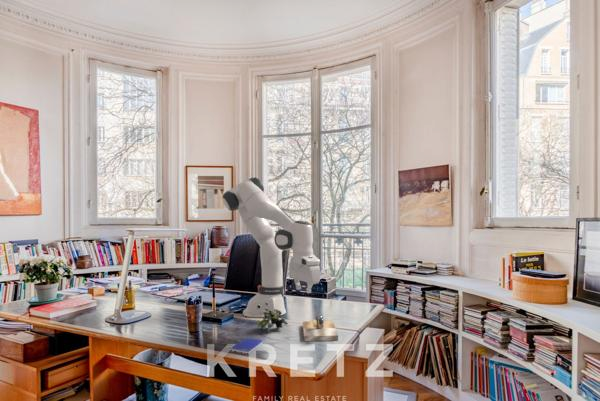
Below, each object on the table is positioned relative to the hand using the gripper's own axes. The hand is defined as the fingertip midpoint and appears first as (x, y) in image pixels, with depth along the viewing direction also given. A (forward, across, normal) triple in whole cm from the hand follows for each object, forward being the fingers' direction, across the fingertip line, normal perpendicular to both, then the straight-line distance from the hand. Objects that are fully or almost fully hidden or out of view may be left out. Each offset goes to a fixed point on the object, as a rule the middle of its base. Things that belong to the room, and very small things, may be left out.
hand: (303, 291), depth 162 cm
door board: (+19, 0, +8) cm, 21 cm away
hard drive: (+20, -2, -26) cm, 32 cm away
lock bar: (+13, +4, +6) cm, 15 cm away
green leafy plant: (+19, -14, -8) cm, 25 cm away
